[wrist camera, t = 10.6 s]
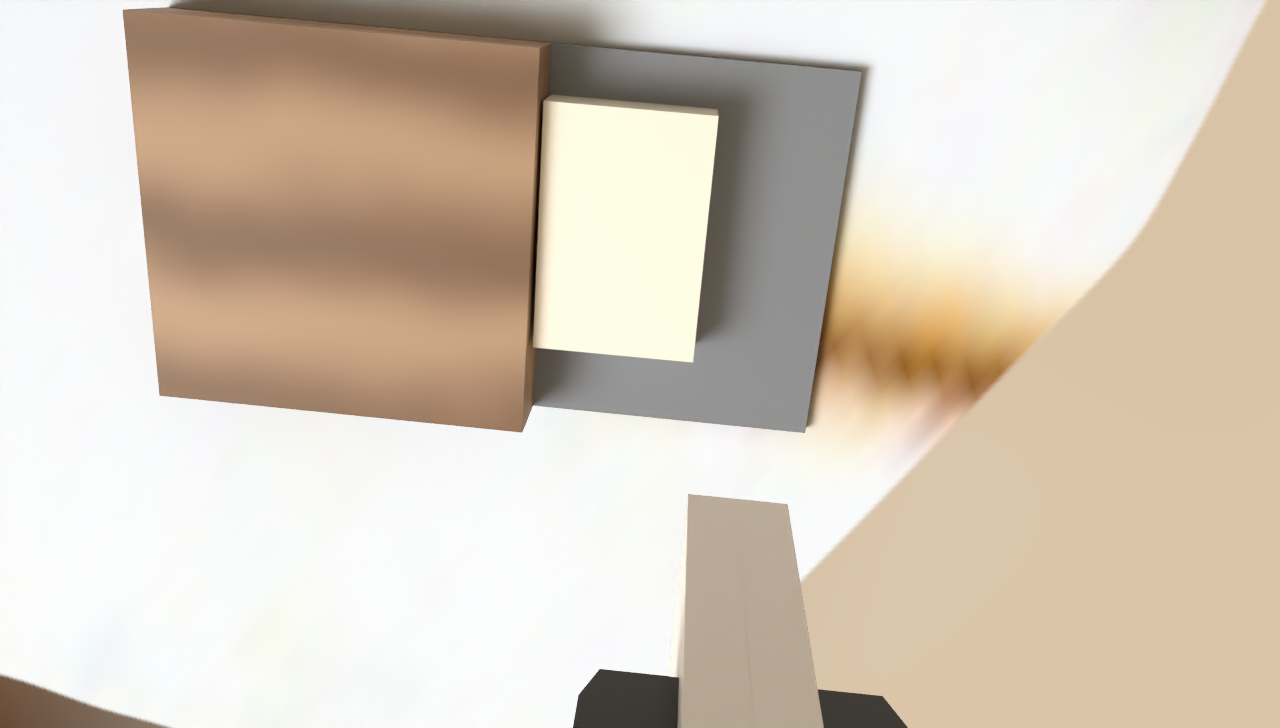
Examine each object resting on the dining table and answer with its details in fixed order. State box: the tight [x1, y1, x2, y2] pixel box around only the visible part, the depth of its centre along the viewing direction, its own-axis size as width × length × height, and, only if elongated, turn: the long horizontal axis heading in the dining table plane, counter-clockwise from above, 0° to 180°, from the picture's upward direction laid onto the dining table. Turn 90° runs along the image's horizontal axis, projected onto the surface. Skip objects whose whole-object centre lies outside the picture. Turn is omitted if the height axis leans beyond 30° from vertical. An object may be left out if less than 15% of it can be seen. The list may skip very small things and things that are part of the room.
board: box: [123, 7, 551, 432], centre depth 37 cm, size 14×14×3 cm
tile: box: [533, 95, 719, 362], centre depth 37 cm, size 9×6×2 cm, turn 175°
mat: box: [533, 43, 862, 433], centre depth 38 cm, size 14×11×1 cm
